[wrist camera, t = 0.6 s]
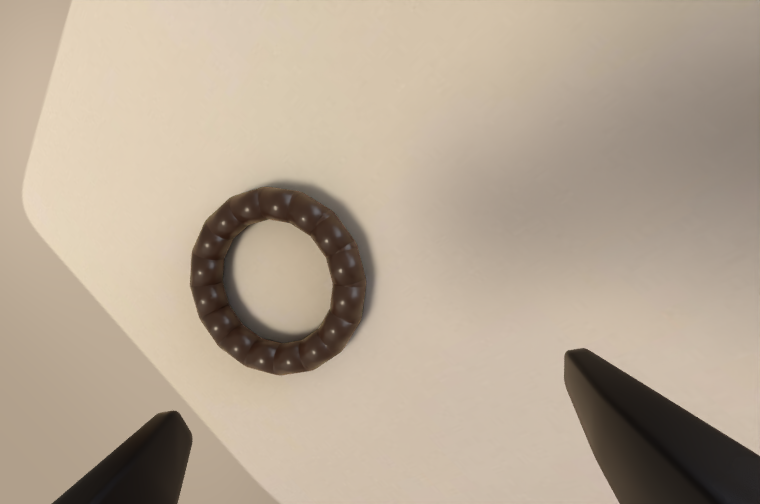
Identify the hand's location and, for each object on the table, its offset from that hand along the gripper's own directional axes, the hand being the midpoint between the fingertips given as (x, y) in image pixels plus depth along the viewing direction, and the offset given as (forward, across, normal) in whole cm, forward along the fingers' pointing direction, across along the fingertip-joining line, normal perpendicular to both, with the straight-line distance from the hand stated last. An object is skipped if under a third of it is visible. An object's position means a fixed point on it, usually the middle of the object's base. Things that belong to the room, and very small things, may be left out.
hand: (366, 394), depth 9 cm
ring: (+15, +8, +5) cm, 18 cm away
